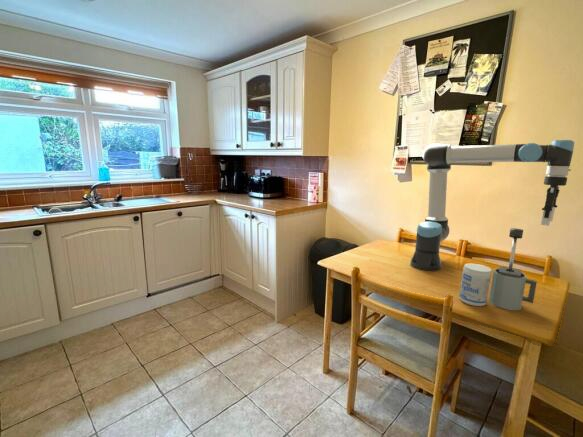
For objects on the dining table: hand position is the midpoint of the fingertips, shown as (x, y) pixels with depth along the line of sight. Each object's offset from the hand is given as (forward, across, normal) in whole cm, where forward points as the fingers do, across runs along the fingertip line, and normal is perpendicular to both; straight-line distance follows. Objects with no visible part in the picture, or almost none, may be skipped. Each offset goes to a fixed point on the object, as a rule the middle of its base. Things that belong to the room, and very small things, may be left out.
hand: (546, 223), depth 135 cm
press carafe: (+29, -38, +4) cm, 48 cm away
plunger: (+19, -38, +5) cm, 43 cm away
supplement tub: (+29, -45, +15) cm, 56 cm away
